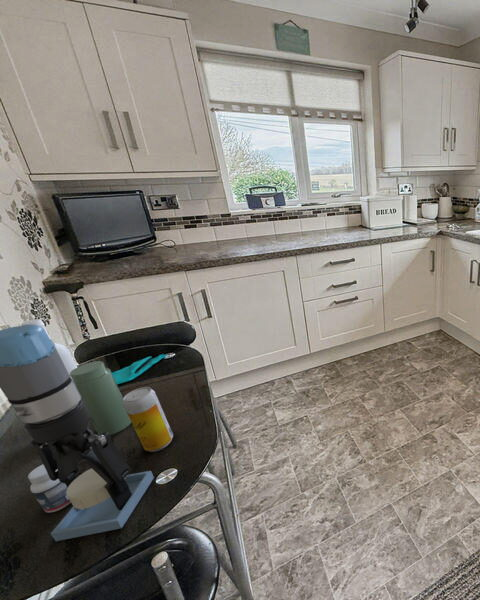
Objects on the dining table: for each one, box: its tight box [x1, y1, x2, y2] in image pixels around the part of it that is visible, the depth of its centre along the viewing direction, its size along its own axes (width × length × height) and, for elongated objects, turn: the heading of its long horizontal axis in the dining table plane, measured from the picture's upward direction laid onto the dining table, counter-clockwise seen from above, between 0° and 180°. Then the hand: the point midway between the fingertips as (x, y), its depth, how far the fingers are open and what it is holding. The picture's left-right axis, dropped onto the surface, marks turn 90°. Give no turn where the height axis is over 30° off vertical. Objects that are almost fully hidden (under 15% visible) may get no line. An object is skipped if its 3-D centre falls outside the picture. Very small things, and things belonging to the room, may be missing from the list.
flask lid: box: [66, 467, 125, 509], centre depth 63 cm, size 8×8×3 cm
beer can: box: [123, 386, 174, 453], centre depth 78 cm, size 6×6×15 cm
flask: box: [70, 360, 132, 436], centre depth 85 cm, size 8×8×18 cm
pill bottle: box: [27, 463, 72, 514], centre depth 66 cm, size 5×5×9 cm
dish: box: [50, 470, 155, 542], centre depth 65 cm, size 11×11×2 cm
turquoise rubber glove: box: [111, 353, 167, 385], centre depth 114 cm, size 26×14×2 cm, turn 132°
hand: (107, 502), depth 65 cm, fingers closed on flask lid, 8 cm apart
